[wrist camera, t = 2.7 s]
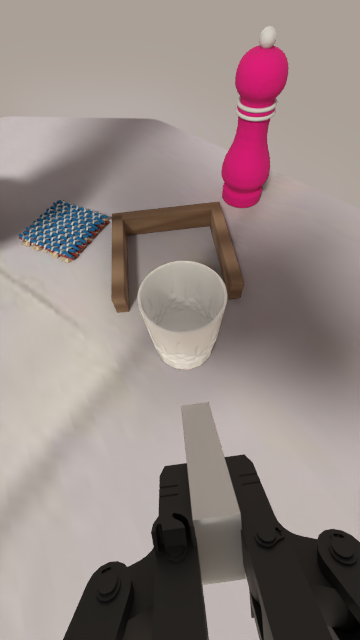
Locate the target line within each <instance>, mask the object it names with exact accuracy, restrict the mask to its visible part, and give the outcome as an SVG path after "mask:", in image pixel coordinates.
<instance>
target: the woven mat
mask: <svg viewBox="0 0 360 640" xmlns="http://www.w3.org/2000/svg"><path fill="white" fill-rule="evenodd" d="M53 205H55V206H52V207H51V209H47V211H48V212H45V213H44V215H42V214H41V215H40V217H41V218H39V219H37V222H36V221H34V222H33V223H34V224H33V225H31V226H30V227H31V229H30V228H28V227H27V228H26V229H27V231H24V232H23V234H24V235H22V234H19V236H20V237H19V238H20V239H21V242H22V244H21V245H23V244H25V246H28V247H30V245H32V246H33V245H34V246H33V247H32V248H31V249H33V250H34V249H35V248H36V251H41V250H43V251H44V252H45V253H47V252H48V251H50V253H49V254H50V255H53V257H54V258H58V256H59V257H60V256H62V258H61V259H60V261H62V260H63V259H64V258H68V259H65V261H66V263H69V262H71V261H72V260H73V259H74V258H75V257H78V254H79V253H81V251H82V250H83V249H84V247H85V246H86V245H87V243H88V244H89V243H90V242H91V240H92V239H93V238H94V236H96V235H97V233H98V232H99V231H100V230H101V229H102V228H103V227H104V226H105V225H106V224H108V223H109V221H108V218H107V216H105V215H103V214H100V212H98V213H97V212H92V209H90V210H89V209H85V207H84V208H82V207H81V206H79V207H77V206H78V205H77V204H76V205H70V202H69V203H68V202H65V201H64V200H63V202H62V201H61V200H59V201H57V203H55V202H54V203H53ZM80 210H81V211H80ZM101 218H102V219H101ZM96 219H97V220H96ZM61 224H62V225H61ZM99 225H100V226H99ZM92 231H93V232H92ZM77 239H78V240H77Z"/></svg>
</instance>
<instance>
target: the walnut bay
mask: <svg viewBox="0 0 360 640" xmlns="http://www.w3.org/2000/svg"><path fill="white" fill-rule="evenodd" d="M204 226H210V228H211V232H212V236H213V240H214V243H215V247H216V251H217V255H218V259H219V263H220V266H221V270H222V274H223V278H224V282H225V286H226V290H227V293H228V297H229V299H233V298H240V297H241V293H242V289H243V285H244V281H243V278H242V275H241V272H240V268H239V265H238V262H237V258H236V255H235V252H234V249H233V245H232V242H231V239H230V235H229V232H228V229H227V226H226V222H225V219H224V216H223V213H222V209H221V206H220V203H219V202H212V203H203V204H195V205H186V206H177V207H168V208H159V209H150V210H141V211H133V212H124V213H115V214H112V301H113V304H114V306H115V308H116V311H117V313H119V312H127V311H129V292H128V261H127V235H135V234H143V233H152V232H161V231H169V230H178V229H187V228H195V227H204Z"/></svg>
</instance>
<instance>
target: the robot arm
mask: <svg viewBox="0 0 360 640" xmlns="http://www.w3.org/2000/svg"><path fill="white" fill-rule="evenodd" d="M181 410H182V420H183V429H184V439H185V449H186V459H187V463H185V464H178V465H170V466H165V467H164V469H163V471H162V473H161V475H160V489H159V517H158V518H157V519H156V521H155V522H154V524H153V527H152V531H151V534H152V539H153V545H154V548H153V549H152V551H151V552H150V553H149V554H148V555H147V556H146V557H145V558H143V559H142V560H140V561H138V562H136V563H135V564H133V565H131V566H129V567H127V566H126V565H125V564H123V563H121V562H118V561H116V562H109V563H107V564H105V565H103V566H101V567H100V568H99V569H98V570H97V571H96V572H95V573H94V574H93V575H92V577H91V578H90V580H89V582H88V583H87V585H86V588H85V590H84V592H83V595H82V597H81V599H80V602H79V604H78V606H77V609H76V611H75V613H74V616H73V618H72V620H71V623H70V625H69V627H68V629H67V632H66V634H65V636H64V639H63V640H209V638H208V629H207V620H206V612H205V603H204V596H203V587H202V585H207V584H213V583H220V582H227V581H234V580H241V579H246V577H247V581H248V585H249V590H250V604H251V616H252V618H255V622H256V626H257V630H258V634H259V639H260V640H360V542H359V541H358V540H356V539H355V538H354V537H353V536H352V535H350V534H348V533H346V532H344V531H341V530H335V529H330V530H325V531H323V532H322V533H321V534H320V535H319V537H318V539H313V538H308V537H302V536H299V535H296V534H293V533H291V532H289V531H288V530H286V529H285V528H284V527H283V526H282V525H281V524H280V523H279V522H278V521H277V519H276V517H275V515H274V513H273V510H272V508H271V506H270V503H269V501H268V498H267V496H266V494H265V491H264V489H263V486H262V484H261V482H260V479H259V477H258V475H257V472H256V470H255V467H254V465H253V463H252V462H251V461H250V460H249V459H248V458H247V457H246V456H245V455H238V456H230V457H224V454H223V451H222V447H221V444H220V440H219V437H218V433H217V430H216V427H215V423H214V420H213V416H212V413H211V409H210V406H209V402H208V403H200V404H193V405H185V406H181ZM245 573H246V575H245Z"/></svg>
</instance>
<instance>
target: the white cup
mask: <svg viewBox="0 0 360 640" xmlns="http://www.w3.org/2000/svg"><path fill="white" fill-rule="evenodd" d="M226 303H227V290H226V286H225V284H224V282H223V280H222V279H221V277H220V276H219V275H218V274H217V273H216V272H215V271H214V270H212V269H211V268H209V267H208V266H206V265H203V264H201V263H198V262H193V261H174V262H169V263H166V264H163V265H161V266H159V267H157V268H155V269H154V270H153V271H151V272H150V273H149V274H148V275H147V276H146V277H145V278H144V280H143V281H142V283H141V285H140V287H139V291H138V306H139V309H140V312H141V314H142V317H143V319H144V322H145V324H146V327H147V330H148V332H149V335H150V337H151V339H152V341H153V344H154V346H155V347H156V349H157V352H158V354H159V355H160V357H161V358H162V360H163V361H164V362H165V363H167V364H168V365H170V366H172V367H174V368H175V369H187V370H189V369H192V368H195V367H197V366H200V365H202V364H203V363H204V362H205V361H206V360H207V359H208V358H209V357H210V355H211V351H212V348H213V345H214V344H215V342H216V338H217V336H218V332H219V329H220V325H221V321H222V318H223V314H224V311H225V307H226Z"/></svg>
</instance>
